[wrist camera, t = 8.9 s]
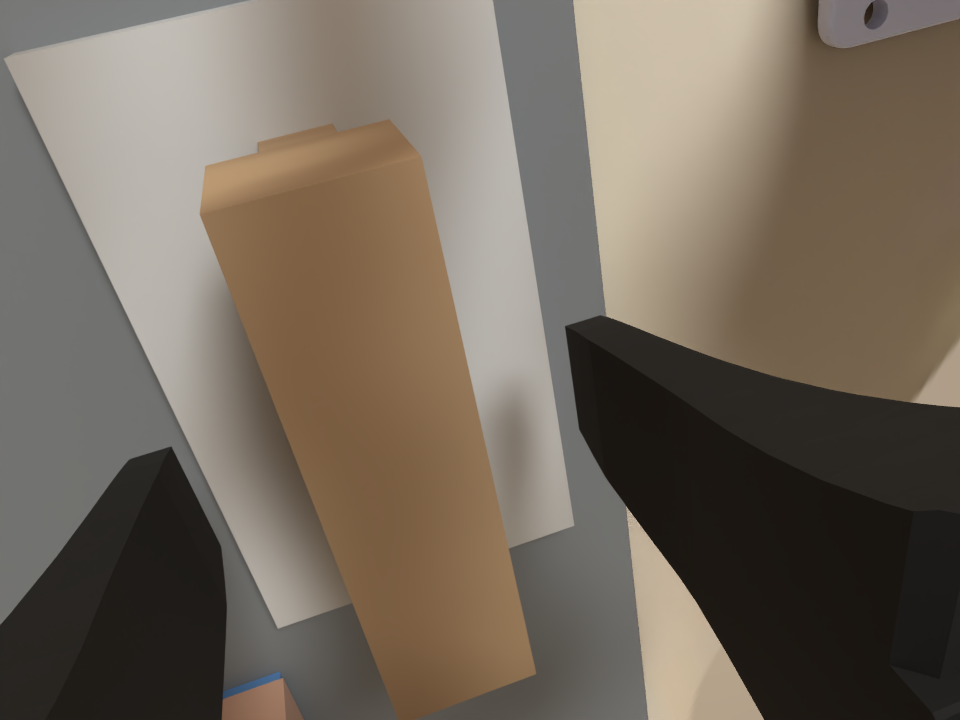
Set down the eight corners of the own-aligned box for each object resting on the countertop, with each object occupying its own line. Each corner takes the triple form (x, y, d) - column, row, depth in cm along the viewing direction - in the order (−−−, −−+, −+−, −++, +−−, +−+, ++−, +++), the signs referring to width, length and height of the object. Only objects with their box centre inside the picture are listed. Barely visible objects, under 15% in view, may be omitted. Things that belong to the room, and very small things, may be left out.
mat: (527, -300, 11) (540, -309, 11) (642, 732, 25) (651, 749, 24) (-1322, 25, 8) (-1421, 32, 8) (-35, 1000, 22) (-42, 1026, 21)
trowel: (474, -51, 12) (605, -44, 8) (564, 509, 18) (664, 680, 14) (13, 52, 11) (-120, 125, 7) (276, 608, 17) (290, 825, 13)
